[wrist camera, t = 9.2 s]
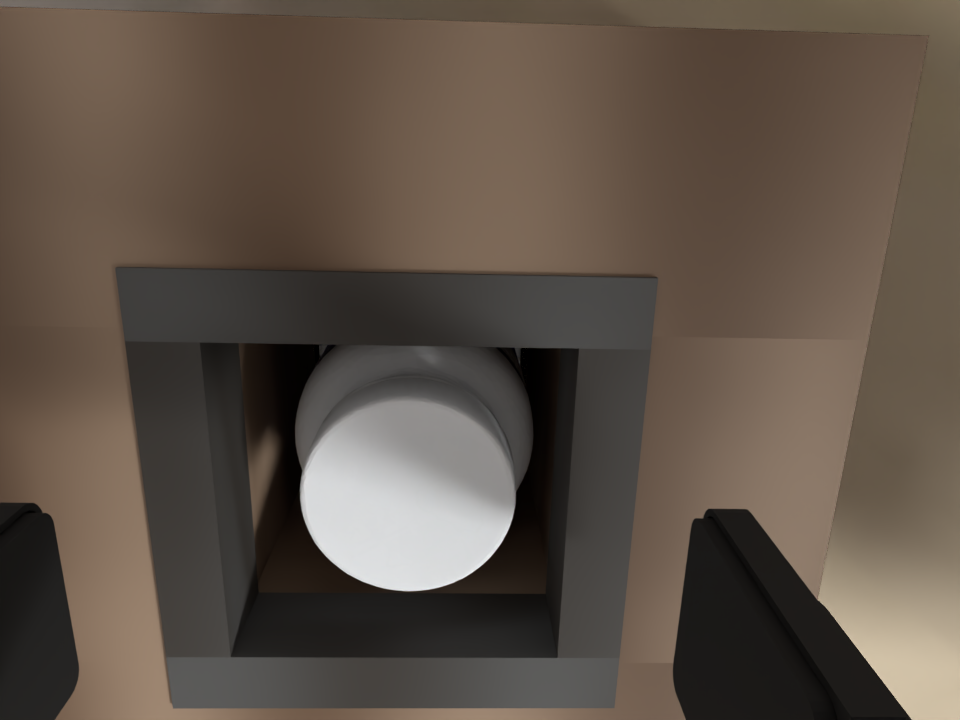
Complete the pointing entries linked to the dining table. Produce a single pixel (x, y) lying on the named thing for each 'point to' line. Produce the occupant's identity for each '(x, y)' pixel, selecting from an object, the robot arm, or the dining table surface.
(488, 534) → the pill bottle
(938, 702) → the dining table surface
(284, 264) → the brown box with opening
